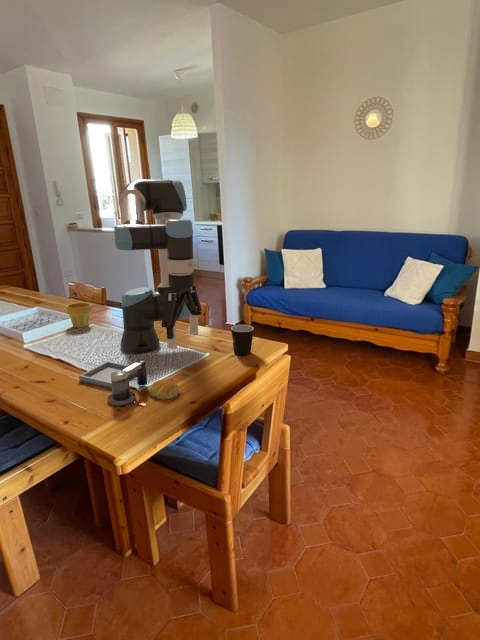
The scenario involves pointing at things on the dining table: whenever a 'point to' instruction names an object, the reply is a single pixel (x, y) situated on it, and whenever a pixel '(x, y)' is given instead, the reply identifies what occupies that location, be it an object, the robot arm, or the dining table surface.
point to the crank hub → (122, 395)
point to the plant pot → (79, 314)
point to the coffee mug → (242, 339)
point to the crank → (124, 374)
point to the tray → (103, 374)
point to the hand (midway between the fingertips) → (183, 341)
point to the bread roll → (164, 389)
